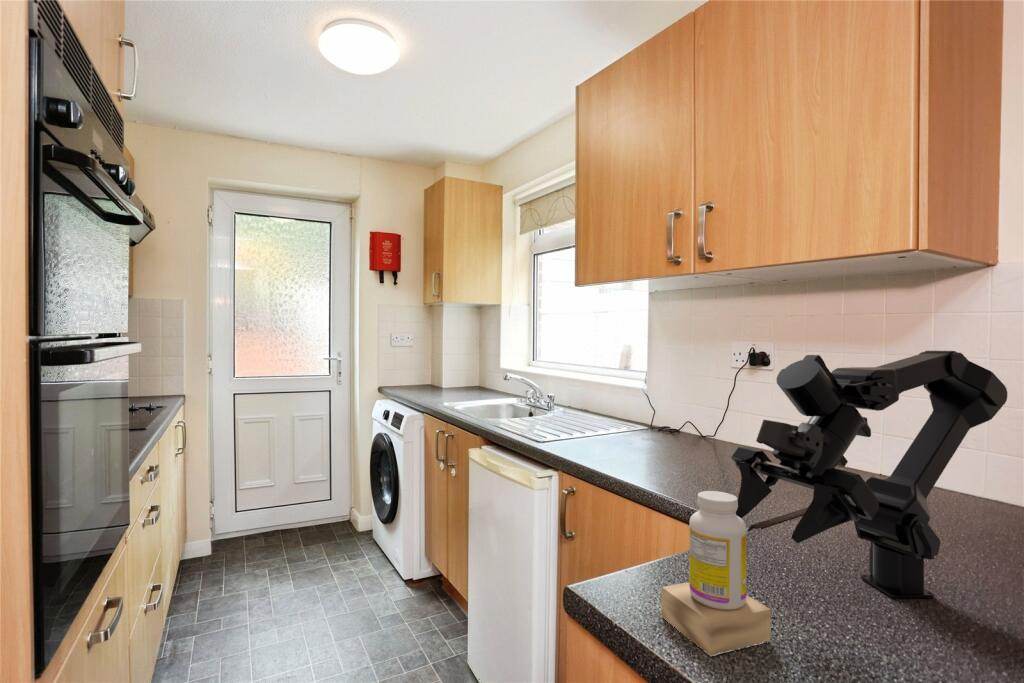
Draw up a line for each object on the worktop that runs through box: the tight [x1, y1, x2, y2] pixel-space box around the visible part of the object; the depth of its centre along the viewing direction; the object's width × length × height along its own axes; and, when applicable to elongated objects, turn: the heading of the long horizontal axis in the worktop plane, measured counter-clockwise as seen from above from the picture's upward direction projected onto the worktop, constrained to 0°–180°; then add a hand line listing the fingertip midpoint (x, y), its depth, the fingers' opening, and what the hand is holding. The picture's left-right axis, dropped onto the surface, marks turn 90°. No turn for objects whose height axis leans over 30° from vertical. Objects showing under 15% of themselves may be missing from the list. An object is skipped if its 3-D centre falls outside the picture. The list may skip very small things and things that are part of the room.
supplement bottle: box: [688, 490, 747, 610], centre depth 64 cm, size 7×7×13 cm
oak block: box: [661, 581, 772, 655], centre depth 64 cm, size 9×9×4 cm
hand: (763, 527), depth 67 cm, fingers open, 9 cm apart
